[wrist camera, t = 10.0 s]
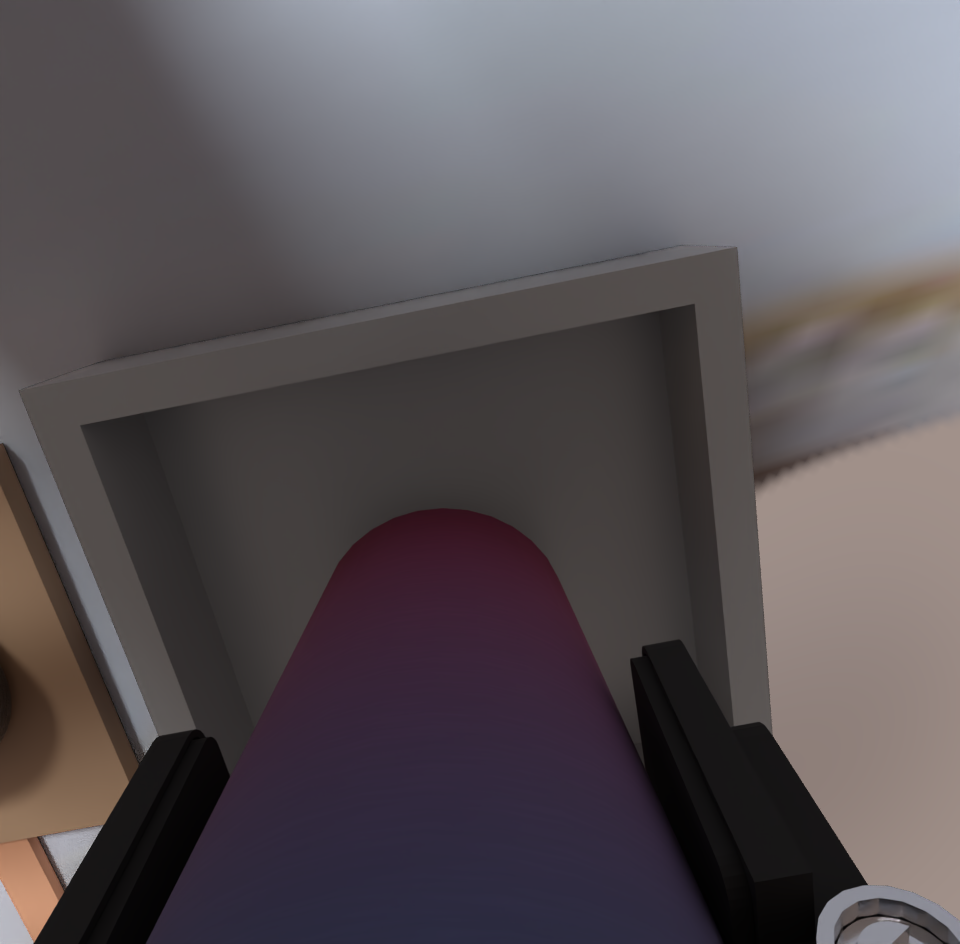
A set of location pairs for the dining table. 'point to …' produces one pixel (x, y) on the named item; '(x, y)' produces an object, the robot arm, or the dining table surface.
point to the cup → (439, 770)
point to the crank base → (47, 715)
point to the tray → (426, 473)
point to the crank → (4, 704)
